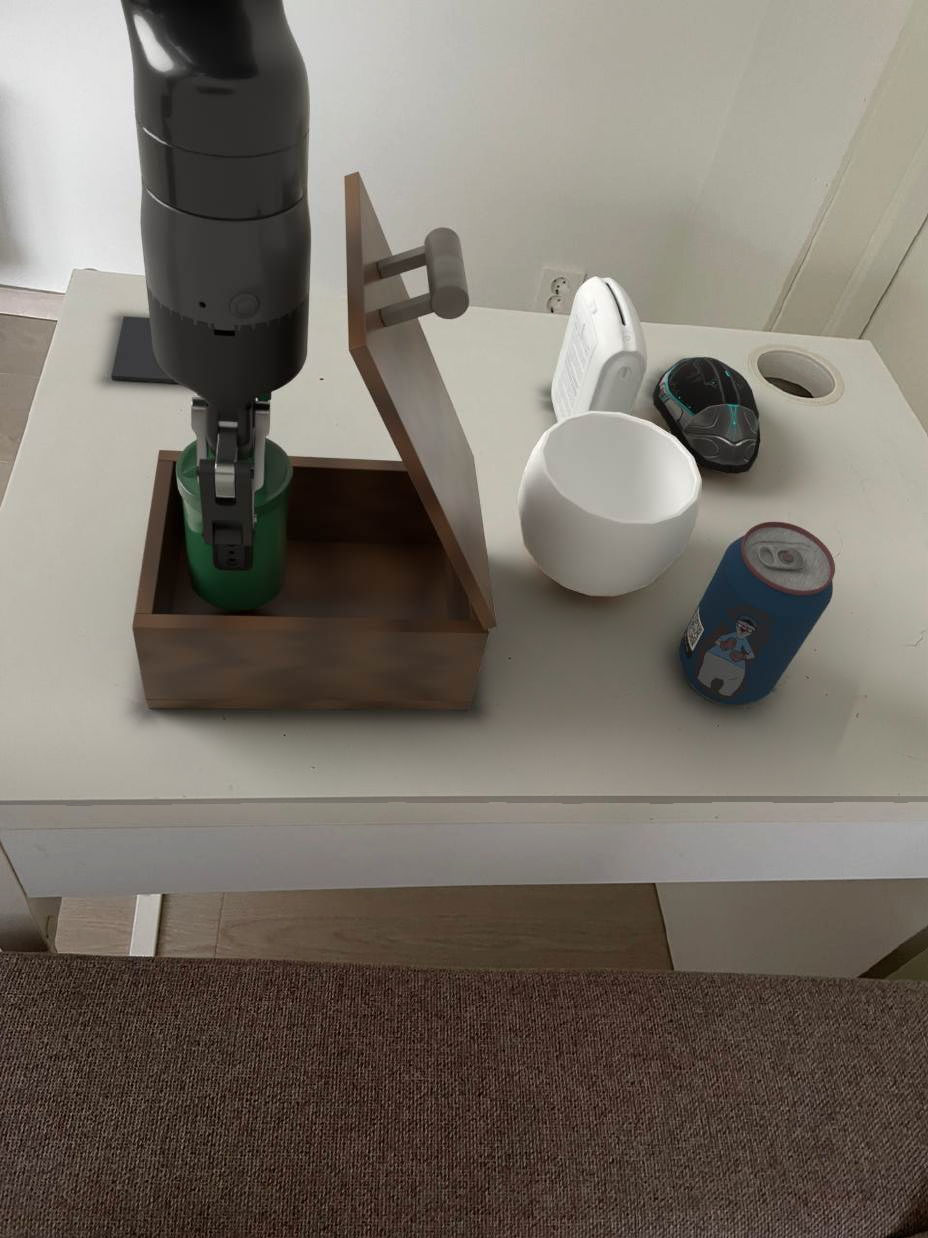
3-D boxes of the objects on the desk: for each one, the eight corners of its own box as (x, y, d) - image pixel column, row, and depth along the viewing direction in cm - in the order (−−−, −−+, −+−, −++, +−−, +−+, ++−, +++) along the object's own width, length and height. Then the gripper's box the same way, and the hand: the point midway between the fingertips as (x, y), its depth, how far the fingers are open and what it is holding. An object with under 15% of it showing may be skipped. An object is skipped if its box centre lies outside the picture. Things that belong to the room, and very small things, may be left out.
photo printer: (618, 471, 81) (663, 343, 72) (568, 471, 80) (606, 341, 71) (591, 390, 87) (629, 263, 78) (544, 388, 86) (576, 260, 77)
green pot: (181, 612, 60) (170, 505, 54) (189, 535, 64) (181, 427, 58) (288, 615, 62) (291, 510, 55) (290, 539, 66) (293, 433, 59)
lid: (348, 349, 42) (461, 313, 41) (343, 175, 51) (436, 143, 50) (484, 630, 58) (568, 609, 57) (462, 460, 67) (534, 439, 66)
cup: (547, 480, 79) (575, 381, 72) (690, 547, 77) (734, 452, 69) (475, 576, 72) (497, 476, 64) (631, 654, 69) (673, 560, 62)
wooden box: (147, 708, 61) (131, 627, 55) (169, 535, 70) (158, 449, 64) (469, 710, 64) (489, 633, 58) (451, 544, 73) (467, 463, 67)
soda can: (759, 637, 72) (830, 519, 63) (779, 718, 67) (858, 604, 58) (666, 628, 71) (724, 508, 62) (680, 710, 67) (744, 593, 57)
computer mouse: (730, 370, 92) (752, 316, 88) (770, 498, 82) (798, 444, 77) (639, 360, 91) (657, 306, 87) (668, 489, 80) (690, 434, 76)
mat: (111, 379, 79) (111, 375, 79) (124, 319, 84) (123, 315, 84) (215, 385, 81) (214, 381, 80) (221, 326, 86) (221, 322, 85)
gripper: (160, 185, 50) (182, 438, 63) (126, 360, 42) (159, 614, 54) (311, 199, 52) (302, 444, 65) (308, 373, 43) (299, 618, 56)
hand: (236, 521), depth 59 cm, fingers closed on green pot, 6 cm apart
